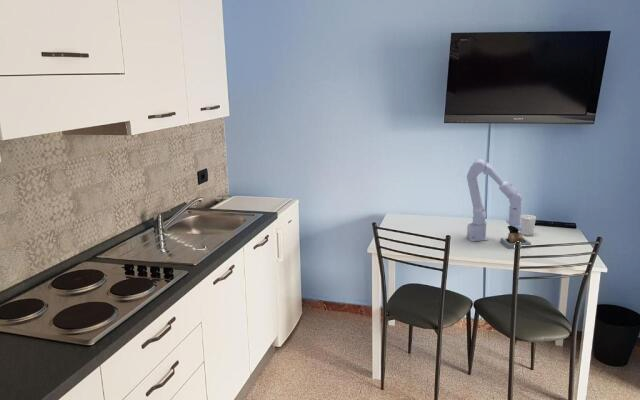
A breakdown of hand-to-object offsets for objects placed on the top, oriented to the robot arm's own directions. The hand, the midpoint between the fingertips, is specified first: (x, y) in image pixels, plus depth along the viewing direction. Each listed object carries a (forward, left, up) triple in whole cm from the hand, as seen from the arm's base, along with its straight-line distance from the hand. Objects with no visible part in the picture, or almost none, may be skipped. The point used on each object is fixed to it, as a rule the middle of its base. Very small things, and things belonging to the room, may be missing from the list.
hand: (513, 239), depth 264 cm
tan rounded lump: (0, -2, -2) cm, 2 cm away
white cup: (+13, +12, -2) cm, 18 cm away
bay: (-1, -3, -2) cm, 4 cm away
